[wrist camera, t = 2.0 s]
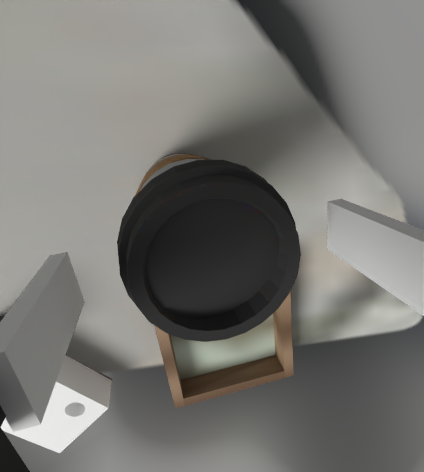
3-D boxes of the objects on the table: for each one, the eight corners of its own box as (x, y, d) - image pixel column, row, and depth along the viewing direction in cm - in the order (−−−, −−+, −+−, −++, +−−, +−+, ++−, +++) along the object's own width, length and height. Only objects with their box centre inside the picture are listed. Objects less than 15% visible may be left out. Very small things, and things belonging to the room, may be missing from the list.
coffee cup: (243, 198, 28) (341, 276, 14) (171, 253, 28) (197, 381, 14) (188, 118, 24) (246, 117, 10) (108, 182, 25) (62, 261, 11)
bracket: (-53, 365, 28) (-119, 446, 21) (-4, 314, 27) (-56, 381, 20) (68, 420, 33) (47, 500, 26) (112, 378, 32) (102, 450, 25)
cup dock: (148, 285, 29) (148, 303, 26) (276, 257, 30) (289, 271, 28) (172, 384, 34) (175, 408, 31) (281, 355, 35) (293, 375, 33)
